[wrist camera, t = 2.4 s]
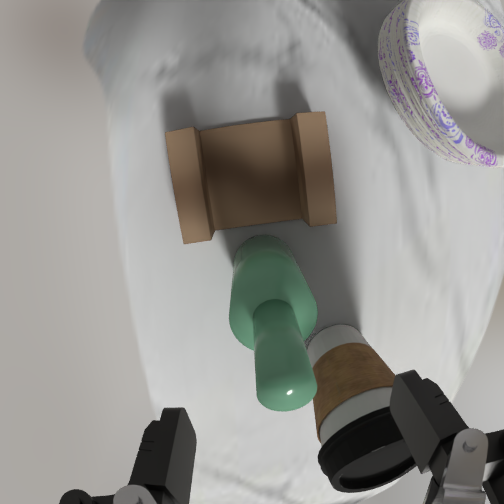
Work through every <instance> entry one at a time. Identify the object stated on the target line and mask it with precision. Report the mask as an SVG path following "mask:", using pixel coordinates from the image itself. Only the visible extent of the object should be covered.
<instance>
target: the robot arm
mask: <svg viewBox="0 0 504 504" xmlns="http://www.w3.org/2000/svg"><path fill="white" fill-rule="evenodd" d="M390 411H391V414H392V416H393V418H394V420H395V422H396V424H397V426H398V428H399V430H400V432H401V434H402V436H403V438H404V440H405V442H406V444H407V446H408V448H409V450H410V452H411V454H412V456H413V458H414V460H415V462H416V464H417V466H418V468H419V471H420V473H421V474H423V473H425V472H428V471H430V470H431V472H432V474H433V476H432V478H431V481H430V484H429V487H428V490H427V493H426V497H425V499H424V502H423V504H485V499H486V494H487V496H488V499H489V501H490V503H491V504H504V430H500V431H496V432H491V433H486V434H484V433H483V432H482V431H480V430H478V429H474V428H469V427H468V426H467V425H466V424H465V422H464V421H463V419H462V418H461V416H460V415H459V414H458V412H457V411H456V409H455V408H454V407H453V405H452V404H451V402H449V400H448V398H447V397H446V396H445V395H444V393H443V391H442V390H441V389H440V387H439V386H438V385H437V384H436V383H434V382H433V381H431V380H429V379H428V378H426V379H423V380H422V379H421V377H420V376H419V375H418V373H417V372H416V371H415V370H410V371H407V372H404V373H401V374H397V375H396V376H395V378H394V383H393V388H392V393H391V397H390ZM196 443H197V442H196V434H195V431H194V428H193V426H192V424H191V421H190V419H189V417H188V414H187V412H186V410H185V408H164V409H163V411H162V415H161V418H160V421H155V420H153V421H152V422H151V423H150V424H149V425H148V427H147V428H146V429H145V431H144V434H143V437H142V443H141V444H140V447H139V451H138V454H137V457H136V460H135V464H134V467H133V471H132V475H131V478H130V481H129V483H128V485H127V486H124V487H123V488H121V489H119V490H118V491H117V492H116V494H114V495H109V496H96V497H91V496H90V495H88V494H87V493H86V492H84V491H82V490H78V489H74V490H70V491H68V492H66V493H65V494H64V495H63V496H62V498H61V500H60V503H59V504H189V499H190V491H191V483H192V475H193V467H194V460H195V452H196ZM482 486H483V488H484V490H485V492H486V493H485V492H484V491H482Z"/></svg>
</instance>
